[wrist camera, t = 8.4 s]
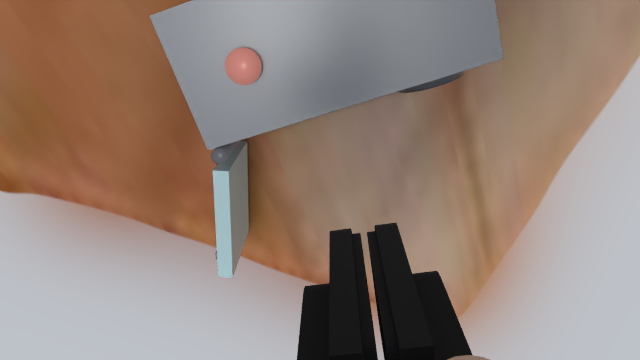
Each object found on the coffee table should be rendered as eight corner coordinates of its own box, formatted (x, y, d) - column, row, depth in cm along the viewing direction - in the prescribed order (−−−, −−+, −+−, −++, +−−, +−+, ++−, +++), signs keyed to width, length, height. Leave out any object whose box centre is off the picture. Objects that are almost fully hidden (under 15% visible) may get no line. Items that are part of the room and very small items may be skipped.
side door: (248, 230, 35) (232, 277, 28) (229, 229, 35) (208, 276, 28) (247, 141, 32) (228, 171, 25) (225, 140, 32) (201, 169, 25)
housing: (437, -69, 27) (484, -107, 19) (461, 63, 30) (510, 79, 22) (193, 17, 29) (144, 15, 21) (239, 133, 32) (212, 169, 24)
